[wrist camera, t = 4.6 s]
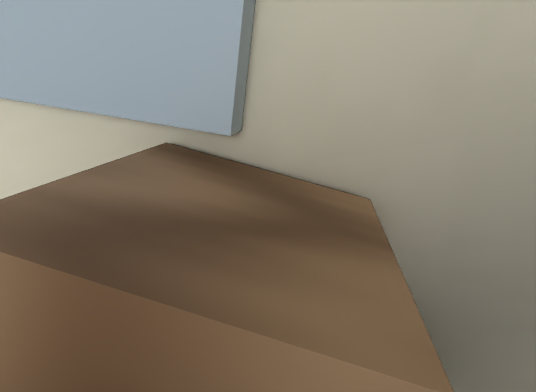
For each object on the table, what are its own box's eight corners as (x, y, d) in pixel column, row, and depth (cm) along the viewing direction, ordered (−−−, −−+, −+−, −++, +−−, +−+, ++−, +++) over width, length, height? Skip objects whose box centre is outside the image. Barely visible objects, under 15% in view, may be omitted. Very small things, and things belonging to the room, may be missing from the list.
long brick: (370, 199, 9) (455, 397, 3) (280, 434, 12) (244, 729, 7) (166, 142, 9) (-80, 226, 4) (135, 385, 13) (-14, 621, 7)
